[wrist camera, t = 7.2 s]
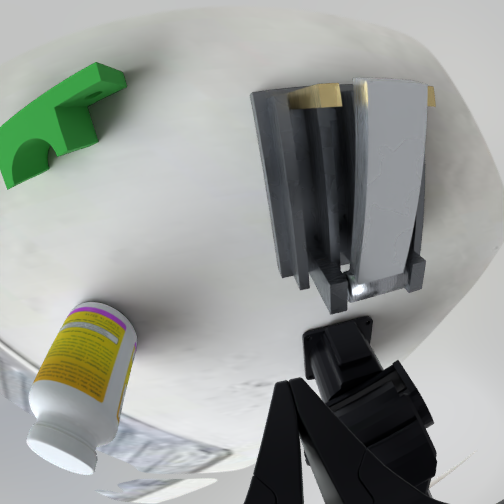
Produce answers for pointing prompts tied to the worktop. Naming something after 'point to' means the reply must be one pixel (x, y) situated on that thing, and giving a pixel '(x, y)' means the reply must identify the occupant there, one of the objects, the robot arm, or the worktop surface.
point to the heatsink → (318, 185)
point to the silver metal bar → (385, 182)
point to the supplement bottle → (82, 387)
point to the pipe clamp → (55, 123)
